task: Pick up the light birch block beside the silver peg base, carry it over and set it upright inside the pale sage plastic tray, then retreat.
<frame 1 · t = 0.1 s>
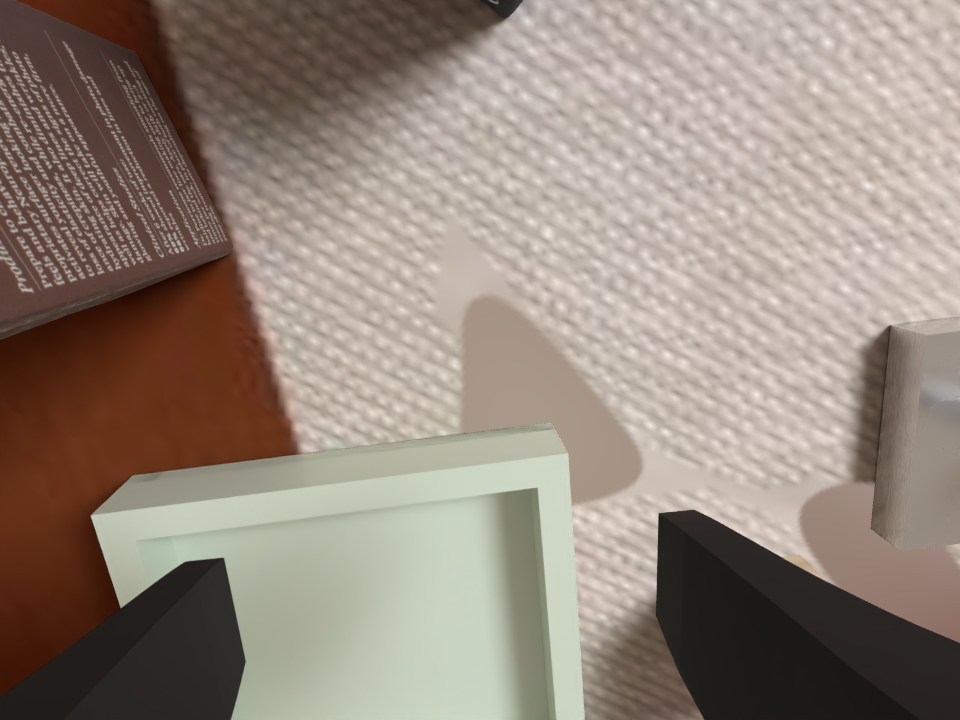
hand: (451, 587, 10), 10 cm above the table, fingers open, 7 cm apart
box: (125, 185, 17), on the table
tray: (377, 621, 22), on the table
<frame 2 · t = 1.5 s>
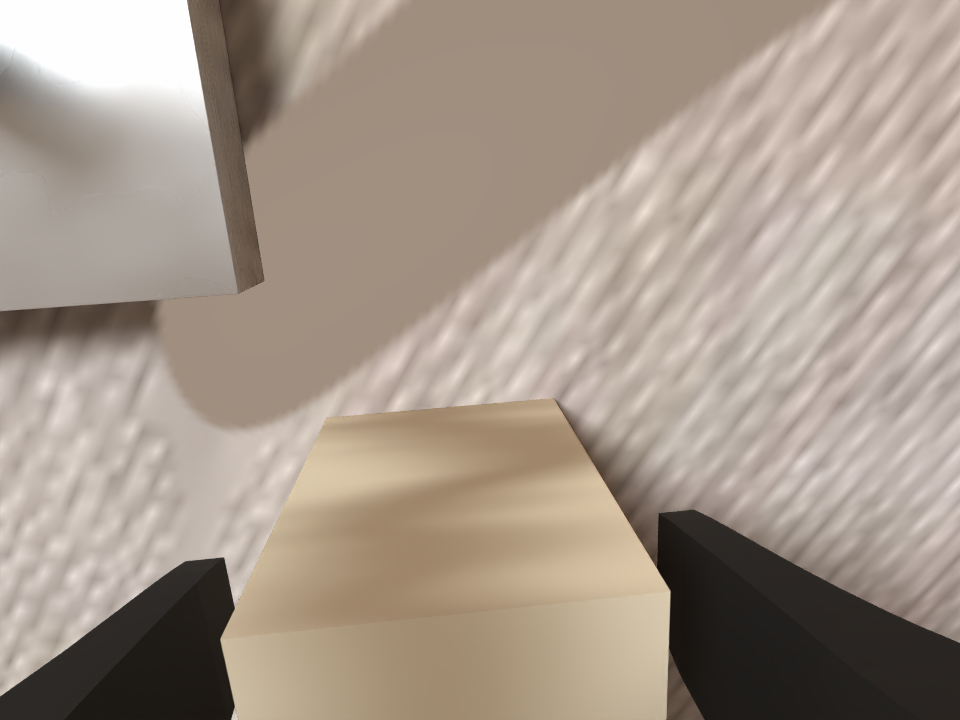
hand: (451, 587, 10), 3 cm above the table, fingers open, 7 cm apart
birch block: (450, 508, 12), on the table
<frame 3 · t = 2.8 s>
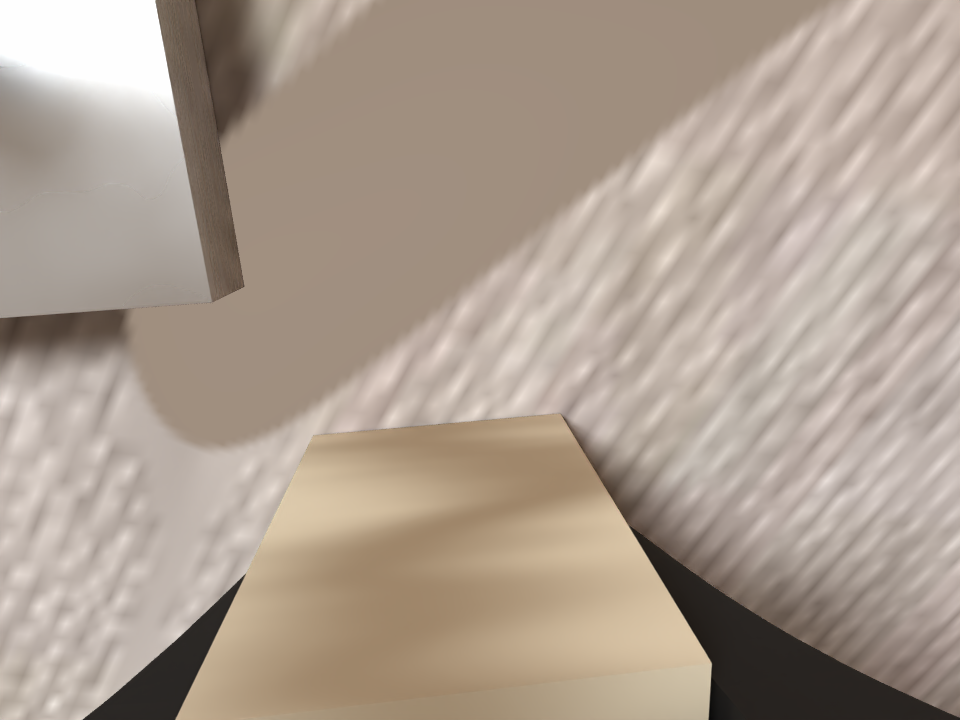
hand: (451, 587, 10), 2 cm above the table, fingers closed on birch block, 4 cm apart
birch block: (447, 533, 11), on the table, touching gripper
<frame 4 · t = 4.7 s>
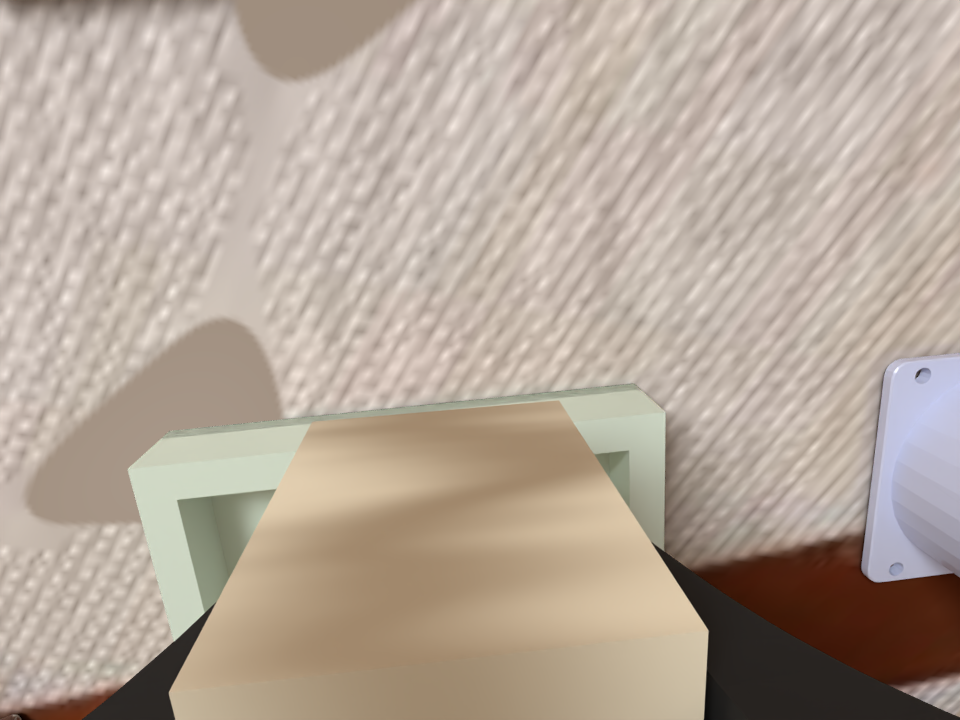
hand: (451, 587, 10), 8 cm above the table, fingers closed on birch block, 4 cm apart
birch block: (446, 520, 11), point 7 cm above the table, touching gripper
tray: (430, 602, 20), on the table
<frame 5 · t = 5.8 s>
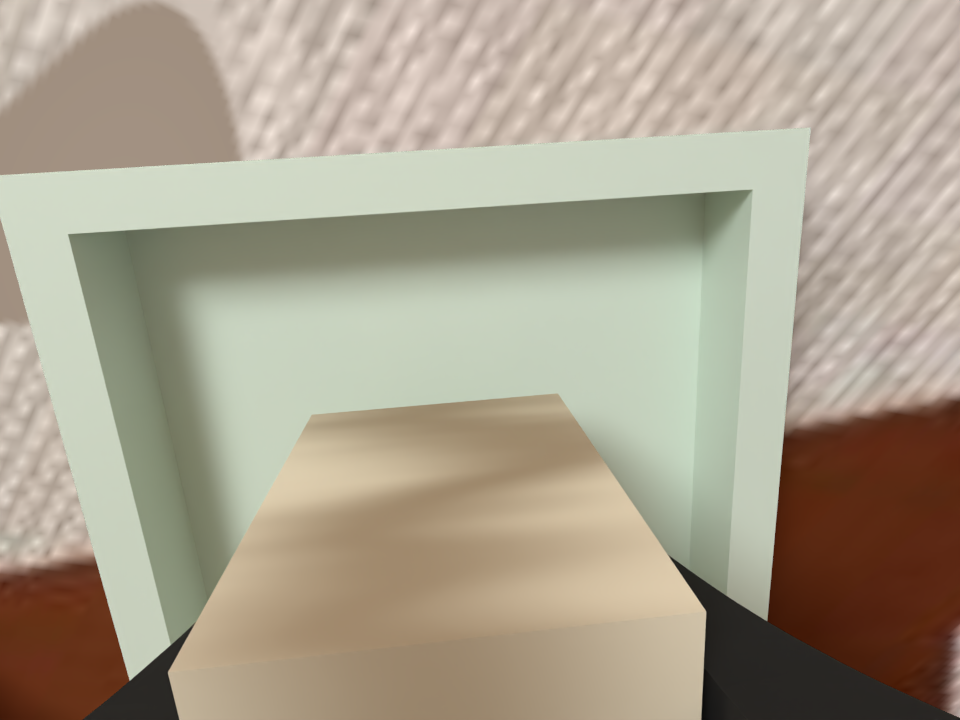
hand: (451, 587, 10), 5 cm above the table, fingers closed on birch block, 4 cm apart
birch block: (446, 513, 11), point 3 cm above the table, touching gripper
tray: (445, 460, 14), on the table
when the fingers open (4 cm above the table, at t = 6.9 s): birch block drops 1 cm, resting on tray.
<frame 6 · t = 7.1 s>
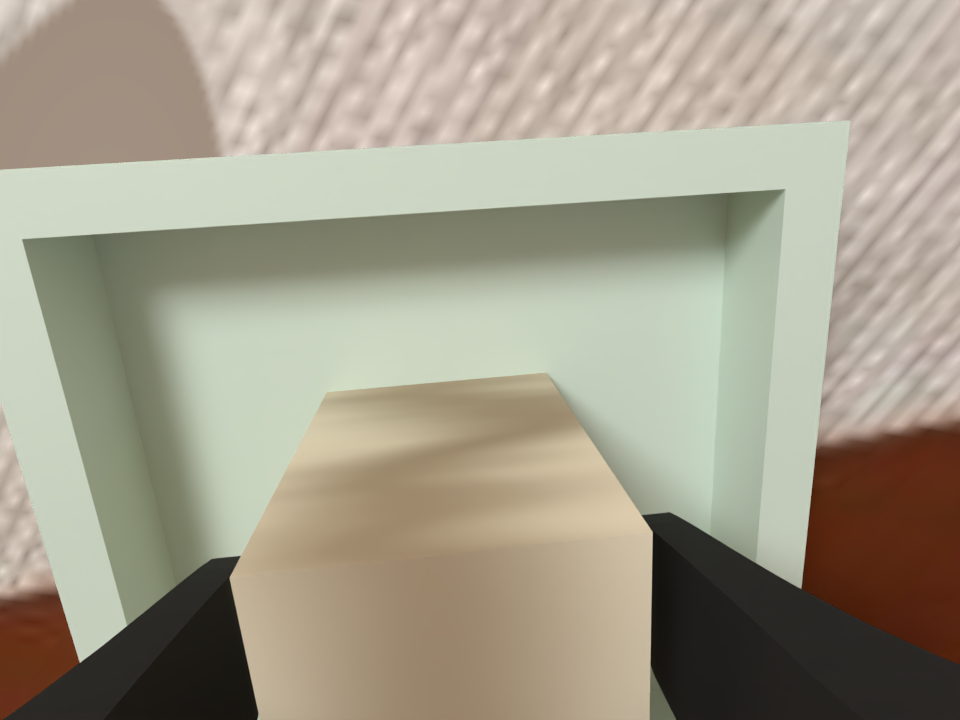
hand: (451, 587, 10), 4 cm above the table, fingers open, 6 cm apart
birch block: (446, 481, 13), point 1 cm above the table, touching tray
tray: (445, 482, 13), on the table
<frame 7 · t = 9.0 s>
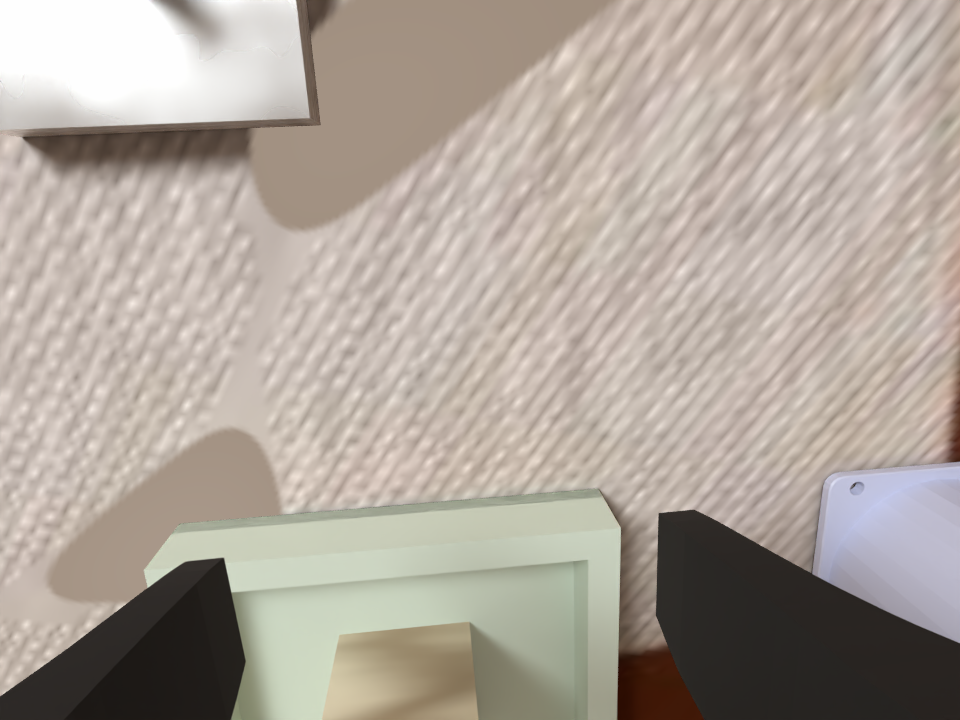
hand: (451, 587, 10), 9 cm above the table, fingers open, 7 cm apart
birch block: (410, 680, 21), point 1 cm above the table, touching tray
tray: (410, 675, 21), on the table
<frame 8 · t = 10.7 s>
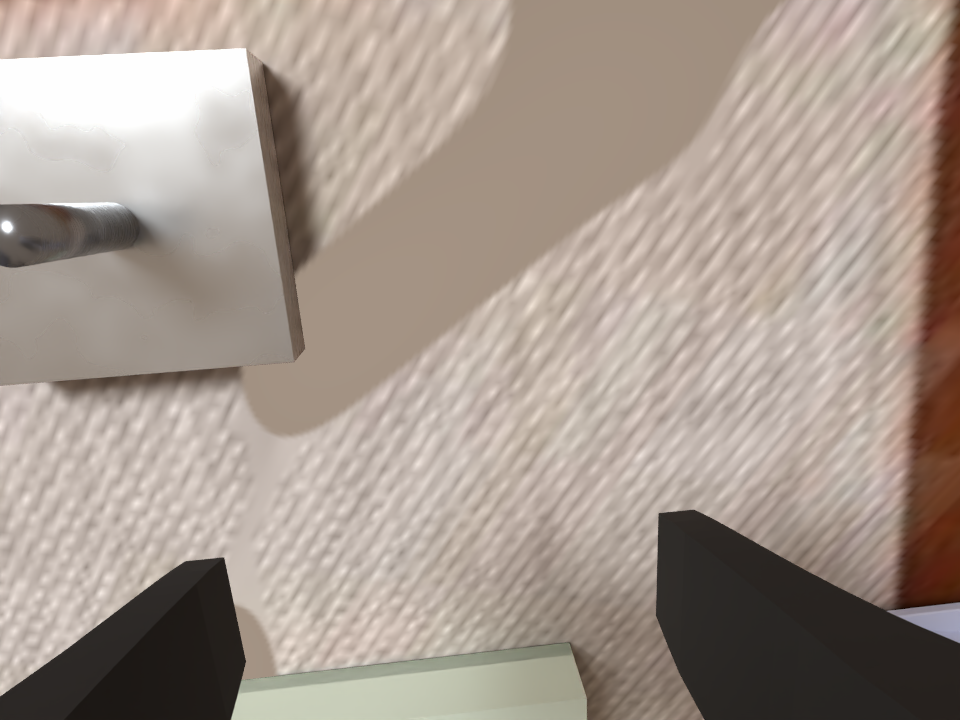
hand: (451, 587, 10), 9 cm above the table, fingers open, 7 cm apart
silver peg base: (141, 224, 17), on the table
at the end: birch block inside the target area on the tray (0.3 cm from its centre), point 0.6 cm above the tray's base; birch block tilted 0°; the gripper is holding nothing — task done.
